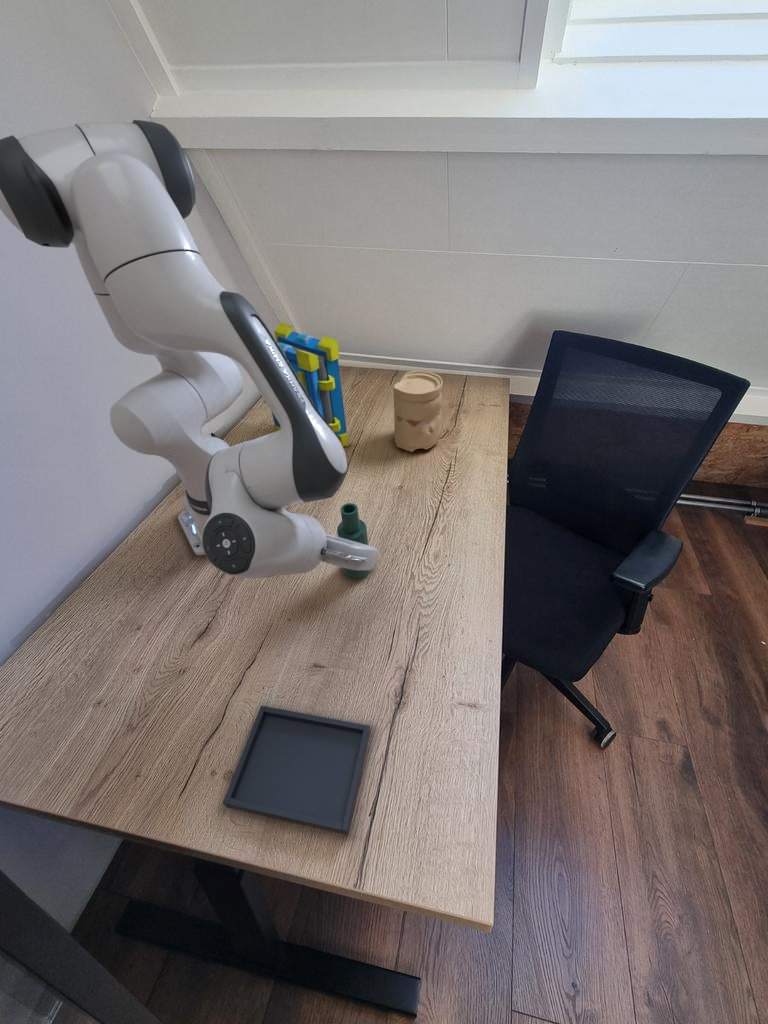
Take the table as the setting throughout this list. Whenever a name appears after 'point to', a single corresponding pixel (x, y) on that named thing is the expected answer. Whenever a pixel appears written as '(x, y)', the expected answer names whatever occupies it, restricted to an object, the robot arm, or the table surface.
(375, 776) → the table surface
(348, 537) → the flask
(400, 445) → the container
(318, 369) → the decorative book
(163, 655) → the table surface
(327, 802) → the tray
